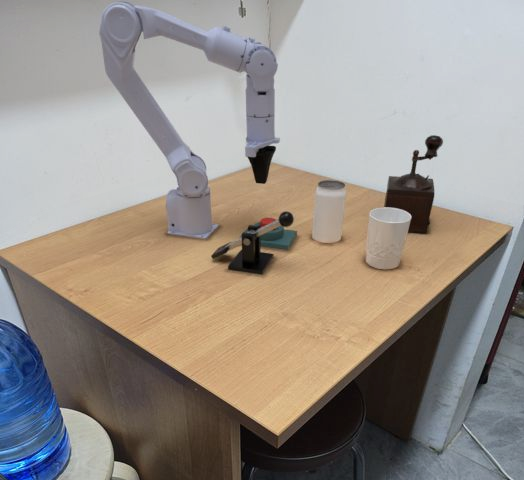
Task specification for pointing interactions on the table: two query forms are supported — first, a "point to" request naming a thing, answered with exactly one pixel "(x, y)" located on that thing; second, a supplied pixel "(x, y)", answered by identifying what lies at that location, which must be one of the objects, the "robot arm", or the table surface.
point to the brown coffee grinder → (414, 190)
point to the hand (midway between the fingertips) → (261, 182)
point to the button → (267, 222)
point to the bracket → (251, 255)
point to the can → (329, 211)
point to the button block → (277, 238)
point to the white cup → (386, 237)
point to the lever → (257, 233)
